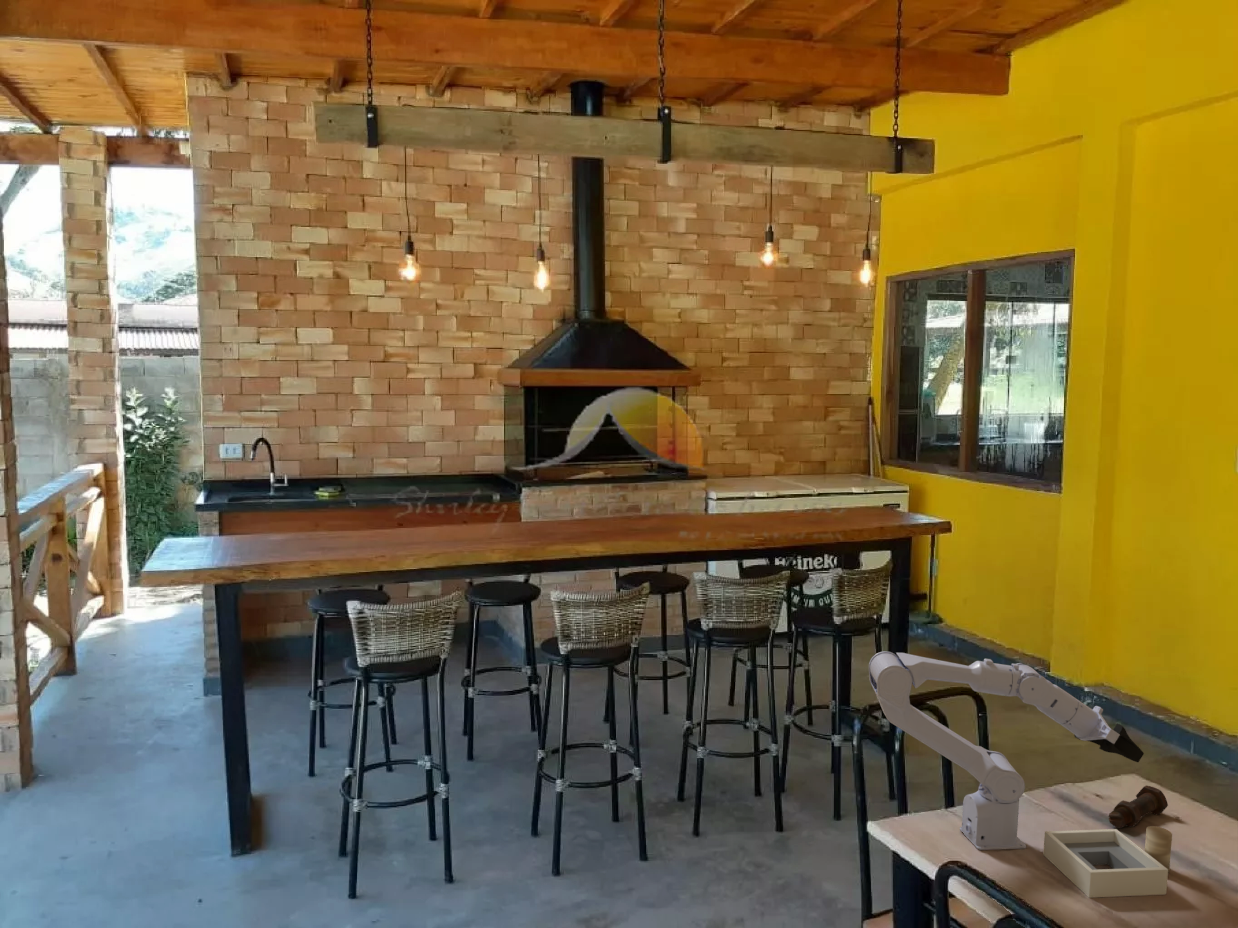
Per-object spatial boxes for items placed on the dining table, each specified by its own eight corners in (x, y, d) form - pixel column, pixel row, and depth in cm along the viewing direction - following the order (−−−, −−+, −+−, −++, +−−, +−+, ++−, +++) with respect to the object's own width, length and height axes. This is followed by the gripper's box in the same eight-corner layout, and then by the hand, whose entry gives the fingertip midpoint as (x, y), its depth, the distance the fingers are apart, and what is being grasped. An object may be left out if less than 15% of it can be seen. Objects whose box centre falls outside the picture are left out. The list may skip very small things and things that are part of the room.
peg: (1153, 875, 163) (1156, 837, 163) (1138, 863, 167) (1141, 826, 167) (1174, 874, 164) (1177, 836, 163) (1159, 862, 168) (1162, 825, 167)
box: (1088, 897, 156) (1090, 872, 155) (1043, 854, 170) (1044, 831, 169) (1166, 894, 157) (1168, 869, 157) (1114, 852, 171) (1116, 828, 171)
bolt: (1110, 837, 181) (1149, 815, 189) (1133, 834, 177) (1172, 812, 185) (1097, 806, 182) (1136, 786, 191) (1120, 803, 178) (1158, 782, 187)
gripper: (1099, 700, 164) (1163, 743, 164) (1059, 685, 179) (1117, 725, 179) (1078, 733, 164) (1142, 776, 164) (1040, 716, 178) (1098, 755, 178)
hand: (1128, 752), depth 171 cm, fingers open, 7 cm apart
